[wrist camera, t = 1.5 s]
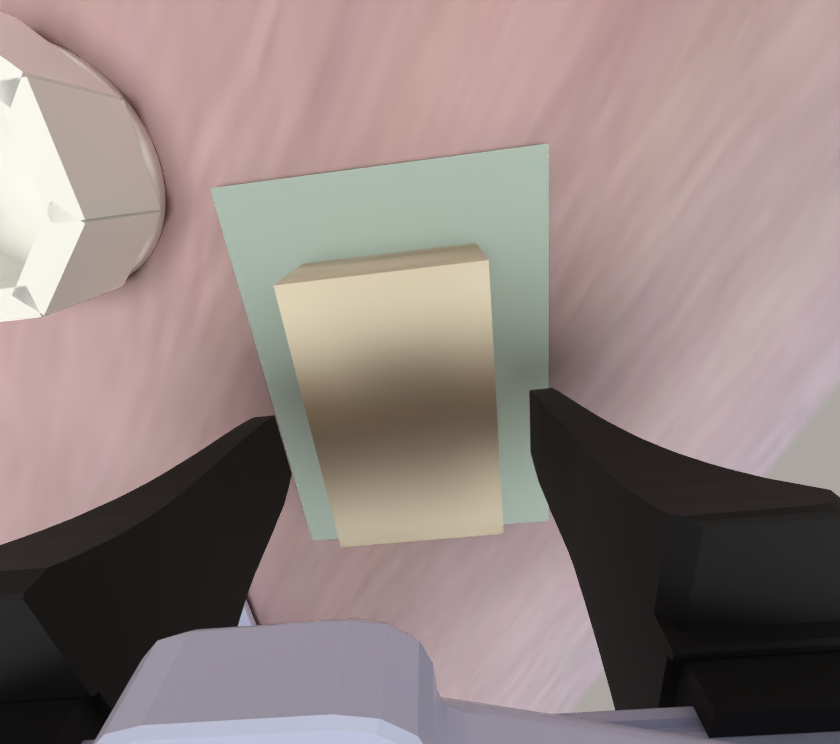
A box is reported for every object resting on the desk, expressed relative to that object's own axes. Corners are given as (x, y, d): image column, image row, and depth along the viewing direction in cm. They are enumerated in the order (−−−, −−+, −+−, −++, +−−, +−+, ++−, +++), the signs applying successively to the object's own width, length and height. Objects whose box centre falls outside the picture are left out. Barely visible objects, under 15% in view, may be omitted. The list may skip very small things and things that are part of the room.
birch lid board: (490, 477, 17) (503, 533, 15) (353, 489, 18) (340, 547, 15) (475, 242, 14) (488, 259, 11) (302, 263, 14) (273, 285, 11)
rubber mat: (545, 512, 19) (548, 520, 18) (315, 531, 19) (312, 540, 19) (544, 144, 13) (548, 143, 13) (217, 187, 14) (209, 188, 13)
